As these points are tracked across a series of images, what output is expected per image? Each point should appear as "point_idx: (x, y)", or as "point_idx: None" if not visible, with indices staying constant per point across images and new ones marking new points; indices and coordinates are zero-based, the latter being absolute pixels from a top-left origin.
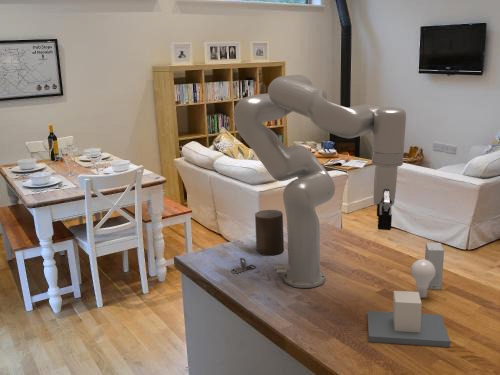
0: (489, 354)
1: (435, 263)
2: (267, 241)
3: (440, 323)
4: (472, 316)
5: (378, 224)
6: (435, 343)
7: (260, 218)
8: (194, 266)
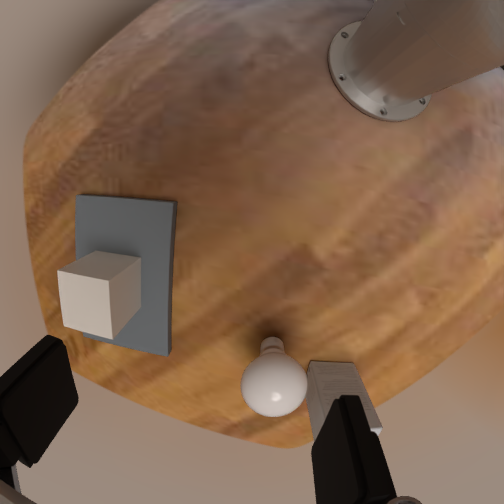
0: (86, 373)
1: (316, 416)
2: None
3: (134, 344)
4: (192, 400)
5: (32, 353)
6: None
7: None
8: None
